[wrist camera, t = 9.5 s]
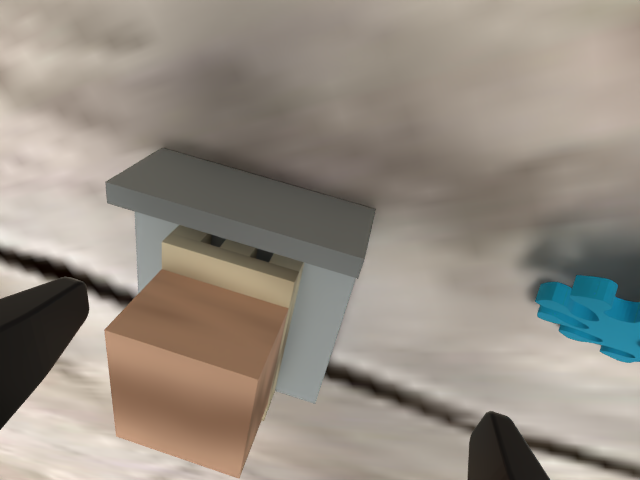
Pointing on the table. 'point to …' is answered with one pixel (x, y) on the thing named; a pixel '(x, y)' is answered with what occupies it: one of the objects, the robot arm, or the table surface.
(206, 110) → the table surface
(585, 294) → the gear
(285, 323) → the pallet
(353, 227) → the dock
